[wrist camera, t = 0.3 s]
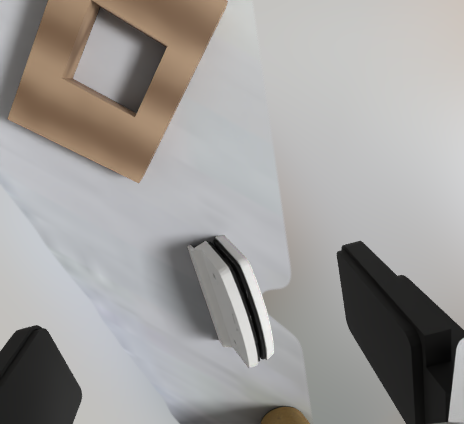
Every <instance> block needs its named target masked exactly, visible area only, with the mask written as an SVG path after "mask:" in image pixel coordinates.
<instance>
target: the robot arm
mask: <svg viewBox="0 0 464 424" xmlns="http://www.w3.org/2000/svg"><path fill="white" fill-rule="evenodd" d="M337 260H338V267H339V274H340V281H341V287H342V294H343V301H344V308H345V315H346V321H347V324H348V327H349V329H350V331H351V333H352V335H353V336H354V338H355V340H356V341H357V343H358V345H359V346H360V348H361V350H362V351H363V353H364V355H365V356H366V358H367V360H368V361H369V363H370V365H371V366H372V368H373V370H374V371H375V373H376V374H377V376H378V378H379V380H380V381H381V382H382V384H383V386H384V388H385V389H386V391H387V392H388V394H389V396H390V397H391V399H392V401H393V403H394V404H395V406H396V408H397V409H398V411H399V412H400V414H401V416H402V418H403V419H404V421H405V422H406V424H464V330H463V329H462V328H461V327H460V326H459V325H458V324H457V323H455V322H454V321H453V320H452V319H451V318H450V317H449V316H448V315H447V314H446V313H445V312H444V311H443V310H442V309H440V308H439V307H438V306H437V305H436V304H435V303H434V302H433V301H432V300H431V299H430V298H429V297H428V296H427V295H425V294H424V293H423V292H422V291H421V290H420V289H419V288H418V287H417V286H416V285H415V284H414V283H413V282H412V281H411V280H409V279H408V278H407V277H405V276H404V275H400V276H397V275H396V274H395V273H394V272H393V271H392V270H391V269H390V268H389V267H388V266H387V265H385V264H384V263H383V262H382V261H381V260H380V259H379V258H378V257H377V256H376V255H375V254H374V253H373V252H372V251H371V250H370V249H369V248H368V247H367V246H366V245H365V244H364V243H363V242H361V241H358V242H354V243H350V244H346V245H343V246H342V251H338V252H337ZM81 399H82V392H81V388H80V386H79V385H78V383H77V381H76V379H75V378H74V376H73V374H72V373H71V371H70V369H69V367H68V365H67V364H66V362H65V360H64V358H63V357H62V355H61V353H60V351H59V350H58V348H57V346H56V344H55V343H54V341H53V339H52V337H51V336H50V334H49V332H48V331H47V330H46V329H44V328H41V327H40V326H37V325H36V326H32V327H28V328H24V329H20V330H17V331H16V332H15V333H14V334H13V335H12V337H11V338H10V339H9V341H8V342H7V343H6V345H5V346H4V347H3V349H2V350H1V351H0V424H73V421H74V419H75V416H76V413H77V410H78V408H79V405H80V403H81Z"/></svg>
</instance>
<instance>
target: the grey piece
mask: <svg viewBox="0 0 464 424" xmlns="http://www.w3.org/2000/svg"><path fill="white" fill-rule="evenodd" d="M215 238H216V240H214V244H215V247H216V248H215V247H214V246H213V245H212V243H211V242H209V243H208V242H207V241H205V242H203V243H201V244H200V245H198V246H197V247H195V248H193V247H192V246H191V245H189V246H187V248H188V251H189V253H190V256H191V259H192V262H193V265H194V268H195V271H196V274H197V277H198V280H199V283H200V286H201V289H202V292H203V295H204V298H205V300H206V303H207V306H208V309H209V312H210V315H211V318H212V321H213V324H214V327H215V330H216V333H217V336H218V339H219V341H220V342H221V344H222V345H223V347H232V348H234V349H235V351H236V352H237V353H238V355H239V356H240V357H241V359H242V360H243V361H244V363H245V364H246V365H247V367H248V368H251V367H254V366H257V365H258V362H259V361H260V358H261V359H266V360H267V359H268V358H269V357H270V356H271V355H272V354H273V353H274V344H273V337H272V330H271V326H270V322H269V318H268V314H267V310H266V307H265V304H264V301H263V297H262V294H261V291H260V288H259V286H258V283H257V280H256V278H255V275H254V272H253V270H252V267H251V265H250V263H249V261H248V259H247V258H246V257H245V256H244V255H243V254H242V253H241V252H240V251H239V250H238V249H237V248H236V247H235V246H234V245H233V244H232V243H231V242H230V241H229V240H228V239H227V238H226V237H225V236H224V235H222V236H216V237H215Z"/></svg>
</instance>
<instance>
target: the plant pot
mask: <svg viewBox="0 0 464 424" xmlns="http://www.w3.org/2000/svg"><path fill="white" fill-rule="evenodd" d="M261 424H310V423H309V422H308V420H307V419H306V418H305V417H304V415H303V414H302V413H301V412H300V411H299V410H297V409H295V408H292V407H280V408H276V409H274V410H272V411H270V412H269V413H267V414H266V415H265V416H264V418H263V419H262V421H261Z"/></svg>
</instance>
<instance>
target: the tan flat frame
mask: <svg viewBox="0 0 464 424" xmlns="http://www.w3.org/2000/svg"><path fill="white" fill-rule="evenodd" d="M227 2H228V1H226V0H48V2H47V5H46V8H45V11H44V14H43V17H42V20H41V23H40V26H39V29H38V31H37V34H36V37H35V40H34V43H33V46H32V49H31V52H30V55H29V58H28V61H27V64H26V67H25V69H24V72H23V75H22V78H21V81H20V84H19V87H18V90H17V93H16V96H15V99H14V102H13V104H12V107H11V110H10V113H9V116H8V120H10V121H12V122H14V123H16V124H18V125H20V126H22V127H24V128H26V129H29V130H31V131H33V132H35V133H37V134H39V135H41V136H43V137H45V138H47V139H49V140H51V141H53V142H55V143H57V144H59V145H61V146H63V147H65V148H68V149H70V150H72V151H74V152H76V153H78V154H80V155H82V156H84V157H86V158H88V159H90V160H92V161H94V162H96V163H98V164H100V165H102V166H104V167H107V168H109V169H111V170H113V171H115V172H117V173H119V174H121V175H123V176H125V177H127V178H129V179H131V180H133V181H135V182H137V183H139V182H140V181H141V179H142V178H143V176H144V174H145V172H146V170H147V168H148V166H149V164H150V162H151V160H152V158H153V156H154V154H155V152H156V150H157V148H158V146H159V143H160V141H161V139H162V137H163V135H164V133H165V131H166V129H167V127H168V125H169V123H170V121H171V119H172V117H173V115H174V113H175V111H176V109H177V107H178V105H179V103H180V101H181V99H182V96H183V94H184V92H185V90H186V88H187V86H188V84H189V82H190V80H191V78H192V76H193V74H194V72H195V70H196V68H197V66H198V64H199V62H200V60H201V58H202V56H203V54H204V52H205V49H206V47H207V45H208V43H209V41H210V39H211V37H212V35H213V33H214V31H215V29H216V27H217V25H218V23H219V21H220V19H221V17H222V15H223V13H224V11H225V9H226V6H227ZM100 7H101V8H103V9H105V10H106V11H108V12H110V13H111V14H113V15H115V16H116V17H118V18H119V19H121V20H123V21H124V22H126V23H128V24H129V25H131V26H133V27H134V28H136V29H138V30H139V31H141V32H143V33H144V34H146V35H147V36H149V37H151V38H152V39H154V40H156V41H157V42H159V43H161V44H162V45H164V46H166V47H167V48H166V50H165V53H164V55H163V57H162V59H161V61H160V64H159V66H158V68H157V70H156V72H155V75H154V77H153V79H152V81H151V83H150V86H149V88H148V90H147V92H146V94H145V97H144V99H143V101H142V103H141V105H140V107H139V110H138V112H137V113H135V112H133V111H131V110H130V109H128V108H126V107H124V106H122V105H120V104H118V103H117V102H115V101H113V100H111V99H109V98H107V97H106V96H104V95H102V94H100V93H98V92H96V91H94V90H93V89H91V88H89V87H87V86H85V85H83V84H82V83H80V82H78V81H76V80H74V79H73V76H74V74H75V71H76V68H77V66H78V63H79V61H80V58H81V55H82V53H83V50H84V48H85V45H86V42H87V40H88V37H89V35H90V32H91V30H92V27H93V24H94V22H95V19H96V17H97V14H98V11H99V9H100Z"/></svg>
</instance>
